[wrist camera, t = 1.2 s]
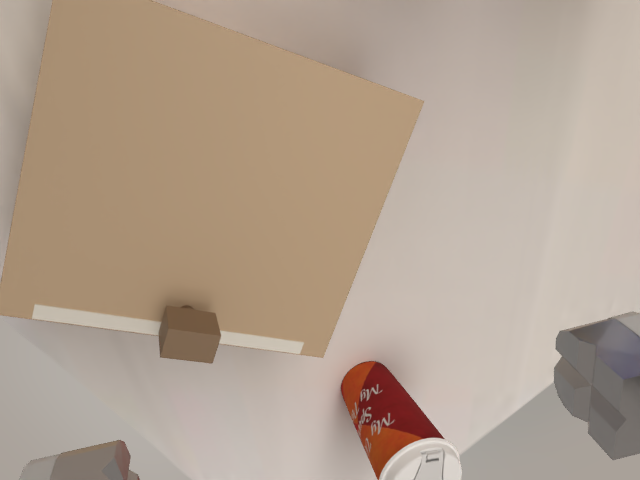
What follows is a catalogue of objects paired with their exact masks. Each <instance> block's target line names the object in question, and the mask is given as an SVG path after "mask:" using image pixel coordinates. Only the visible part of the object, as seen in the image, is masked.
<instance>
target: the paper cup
mask: <svg viewBox="0 0 640 480" xmlns="http://www.w3.org/2000/svg"><path fill="white" fill-rule="evenodd" d="M341 391H342V395H343V398H344V401H345V403H346V406H347V408H348V411H349V413H350V416H351V418H352V420H353V423H354V425H355V428H356V430H357V432H358V435H359V437H360V439H361V442H362V444H363V446H364V449H365V451H366V453H367V456H368V458H369V460H370V463H371V465H372V468H373V470H374V472H375V475H376V477H377V479H378V480H461V476H462V468H461V464H460V458H459V453H458V450H457V448H456V447H455V446H454V445H453V444H452V443H451V442H449V441H447V440H445V439H444V438H443V436H442V435H441V434H440V433H439V431H438V430H437V429H436V428H435V426H434V425H433V424H432V423H431V421H430V420H429V419H428V418H427V417H426V415H425V414H424V413H423V412H422V410H421V409H420V408H419V407H418V405H417V404H416V403H415V402H414V400H413V399H412V398H411V397H410V395H409V394H408V393H407V392H406V390H405V389H404V388H403V387H402V386H401V384H400V383H399V382H398V381H397V379H396V378H395V377H394V376H393V375H392V374H391V372H390V371H389V370H388V369H387V368H386V367H385V366H384V365H383V364H381V363H379V362H374V361H369V362H364V363H361V364H358V365H357V366H355V367H353V368H352V369H351V370H350V371H349V372H348V373H347V374H346V376H345V377H344V379H343V381H342V385H341Z"/></svg>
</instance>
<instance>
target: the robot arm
mask: <svg viewBox="0 0 640 480" xmlns="http://www.w3.org/2000/svg"><path fill="white" fill-rule="evenodd" d="M556 350H557V351H558V352H559V353H560V354H561V355H562V357H561V359H560V360H559V362H558V363H557V365H556V366H555V367H554V383H555V387H556V389H557V393H558V396H559V398H560V399H561V401H562V403H563V405H564V406H565V408H567V410H568V411H569V412H570V413H571V414H572V416H574V417H577V418H579V419H581V420H584V421H586V422H588V434H589V435H590V436H591V437H592V438H593V439H594V440H595V441H596V442H597V443H598V444H599V446H600V447H601V448H602V449H603V450H604V451H605V452H606V453H607V455H608V456H609V457H610V458H611V459H612V460H616V459H620V458H624V457H627V456H631V455H635V454H639V453H640V313H636V312H629V313H625V314H622V315H618V316H614V317H611V318H608V319H605V320H601V321H597V322H593V323H589V324H585V325H581V326H577V327H574V328H570V329H566V330H562V331H560V332H559V334H558V336H557V338H556ZM129 464H130V454H129V451H128V449H127V447H126V444H125V442H123V441H121V440H117V441H113V442H108V443H104V444H99V445H95V446H91V447H86V448H82V449H77V450H73V451H68V452H64V453H61V454H57V455H53V456H49V457H44V458H39V459H35V460H31V461H30V462H29V463H28V464H27V465H26V466H25V467H24V469H23V471H22V474H21V476H20V479H19V480H140V479H139V476H138V474H136V473H134V472H132V471H130V470H129Z"/></svg>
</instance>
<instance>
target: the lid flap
mask: <svg viewBox="0 0 640 480" xmlns="http://www.w3.org/2000/svg"><path fill="white" fill-rule="evenodd" d="M423 103H424V101H422V100H419V99H417V98H414V97H411V96H409V95H406V94H403V93H401V92H398V91H395V90H392V89H390V88H387V87H384V86H382V85H379V84H376V83H373V82H371V81H368V80H365V79H363V78H360V77H357V76H355V75H352V74H349V73H346V72H344V71H341V70H338V69H336V68H333V67H330V66H327V65H325V64H322V63H319V62H317V61H314V60H311V59H309V58H306V57H303V56H300V55H298V54H295V53H292V52H290V51H287V50H284V49H281V48H279V47H276V46H273V45H271V44H268V43H265V42H262V41H260V40H257V39H254V38H252V37H249V36H246V35H244V34H241V33H238V32H235V31H233V30H230V29H227V28H225V27H222V26H219V25H216V24H214V23H211V22H208V21H206V20H203V19H200V18H198V17H195V16H192V15H189V14H187V13H184V12H181V11H179V10H176V9H173V8H170V7H168V6H165V5H162V4H160V3H157V2H154V1H152V0H53V1H52V6H51V12H50V17H49V23H48V28H47V34H46V39H45V45H44V50H43V55H42V61H41V66H40V72H39V77H38V83H37V88H36V93H35V99H34V104H33V110H32V115H31V121H30V126H29V131H28V137H27V142H26V148H25V153H24V159H23V164H22V170H21V175H20V180H19V186H18V191H17V197H16V202H15V208H14V213H13V218H12V224H11V229H10V235H9V240H8V246H7V251H6V256H5V262H4V267H3V273H2V278H1V284H0V315H3V316H10V317H18V318H26V319H33V320H41V321H48V322H56V323H63V324H71V325H79V326H86V327H94V328H101V329H109V330H116V331H124V332H132V333H139V334H147V335H154V336H159V347H160V357H162V358H170V359H179V360H187V361H196V362H205V363H213V360H214V357H215V354H216V351H217V348H218V345H219V344H223V345H230V346H238V347H245V348H253V349H260V350H268V351H276V352H283V353H291V354H298V355H306V356H313V357H321V358H323V357H324V354H325V352H326V349H327V347H328V344H329V341H330V339H331V336H332V334H333V331H334V329H335V326H336V324H337V321H338V319H339V316H340V314H341V311H342V309H343V306H344V303H345V301H346V298H347V296H348V293H349V291H350V288H351V286H352V283H353V281H354V278H355V276H356V273H357V270H358V268H359V265H360V263H361V260H362V258H363V255H364V253H365V250H366V248H367V245H368V243H369V240H370V238H371V235H372V232H373V230H374V227H375V225H376V222H377V220H378V217H379V215H380V212H381V210H382V207H383V205H384V202H385V200H386V197H387V194H388V192H389V189H390V187H391V184H392V182H393V179H394V177H395V174H396V172H397V169H398V167H399V164H400V162H401V159H402V156H403V154H404V151H405V149H406V146H407V144H408V141H409V139H410V136H411V134H412V131H413V129H414V126H415V124H416V121H417V118H418V116H419V113H420V111H421V108H422V106H423Z"/></svg>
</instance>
